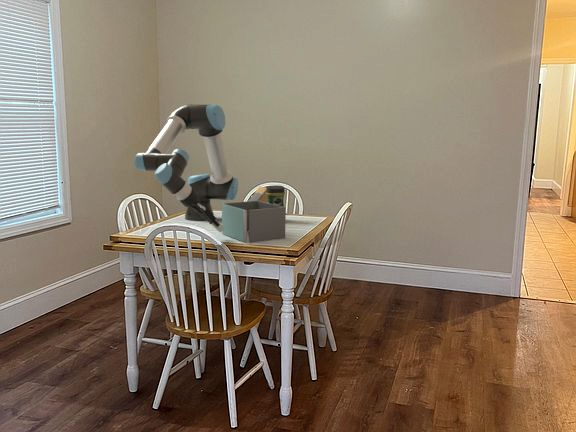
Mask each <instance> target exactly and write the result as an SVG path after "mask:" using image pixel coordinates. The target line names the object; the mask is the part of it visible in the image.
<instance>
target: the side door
mask: <svg viewBox="0 0 576 432" xmlns="http://www.w3.org/2000/svg"><path fill="white" fill-rule="evenodd" d="M221 225H222V226H223V227H224V230H223V231H222V232H221V234H222V235H225V236H227V237H230V238H232V239H236V240H238V241H240V242H244V243H247V242H248V231H247V210H244V209H240V208H237V207H233V206H229V205H226V204H224V203H223V204H221Z"/></svg>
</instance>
